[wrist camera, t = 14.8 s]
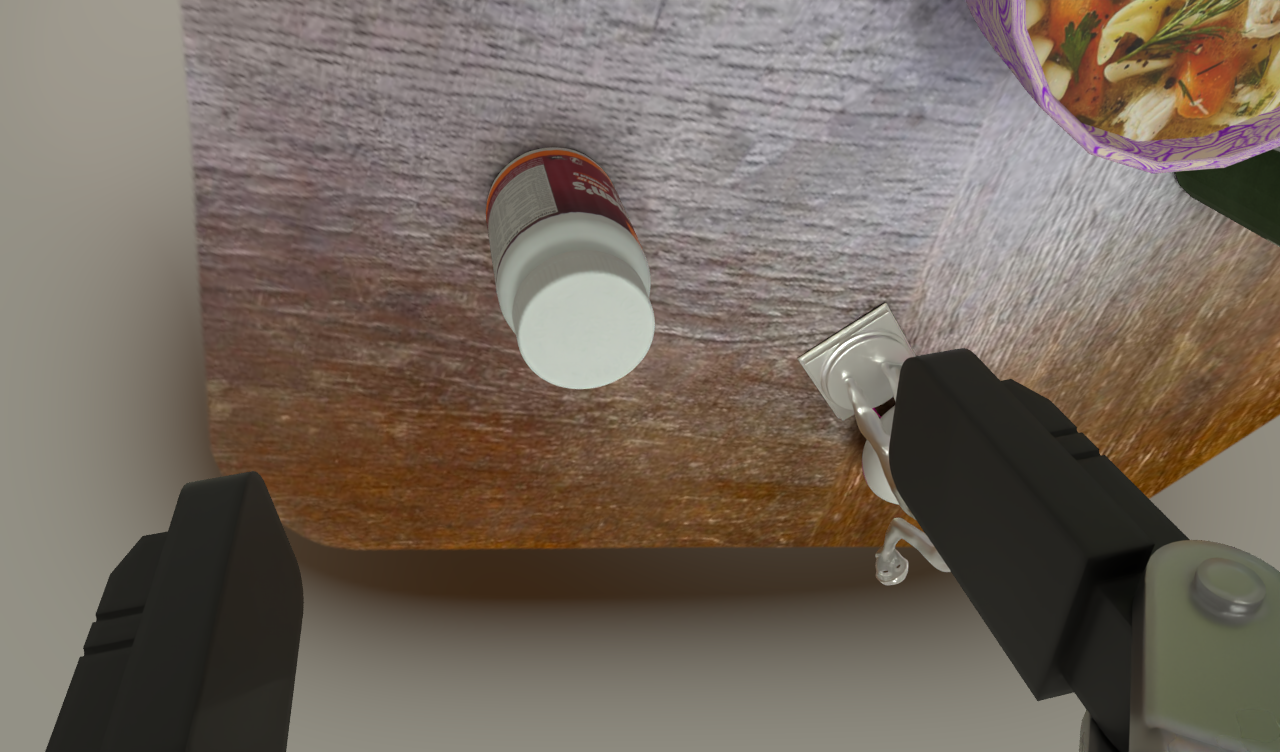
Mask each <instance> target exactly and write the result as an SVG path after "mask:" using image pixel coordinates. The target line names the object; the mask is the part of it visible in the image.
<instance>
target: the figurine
mask: <svg viewBox="0 0 1280 752" xmlns="http://www.w3.org/2000/svg"><path fill="white" fill-rule="evenodd" d="M910 357H915V354H914V352H913V350H912V348H911V346H910V345H909V343H908V341H907V339H906V337H905V336H904V334H903V332H902V330H901V328H900V327H899V325H898V323H897V321H896V319H895V318H894V316H893V314H892V312H891V310H890V309H889V307H888V305H887V303H884V304H882V305H881V306H879V307H878V308H876V309H874V310H873V311H871V312H870V313H868V314H867V315H865V316H863V317H862V318H860V319H859V320H857V321H855V322H854V323H852V324H851V325H849V326H848V327H846V328H844V329H843V330H841V331H840V332H838V333H837V334H835V335H833V336H832V337H830V338H829V339H827V340H826V341H824V342H822V343H821V344H819V345H818V346H816V347H814V348H813V349H811V350H810V351H808V352H807V353H805V354H803V355H802V356H800V357H799V358H798V360H799V362H800V363H801V365H802V366H803V368H804V369H805V371H806V372H807V374H808V375H809V377H810V378H811V379H812V381H813V382H814V384H815V385H816V387H817V388H818V390H819V391H820V393H821V394H822V396H823V397H824V399H825V400H826V402H827V403H828V404H829V406H830V407H831V409H832V410H833V412H834V413H835V415H836V416H837V418H838V419H840V418H841V419H842V420H843V421H844V420H846V419H847V418H849V417H851V416H852V415H854V414H855V418H856V422H857V425H858V428H859V430H860V432H861V433H862V434H863V436H864V437H865V438H866V439H867V440H868V441H869V442H870V444H871V445H872V447H873V449H874V450H875V452H876V453H877V456H878V458H879V461H880V464H881V466H882V469H883V472H884V475H885V477H886V479H887V482H888V484H889V486H890V488H891V491H892V493H893V494H894V496H895V497H896V499H897V501H898V503H899V505H900V506H901V508H902V509H903V510H904V511H905V512H906V513H907V514H908V515H909V516H911V517H912V518H914V519H915V517H914V516H913V514H912V513H911V511H910V510H909V508H908V507H907V505H906V504H905V502H904V501H903V499H902V498H901V496H900V494H899V493H898V491H897V488H896V486H895V484H894V481H893V478H892V474H891V470H890V464H889V443H890V436H889V435H888V434H887V433H886V432H885V430H884V428H883V425H882V423H881V421H880V419H879V417H878V415H877V413H876V412H875V411H874V410H873V409H872V408H875V407H877V406H879V405H882V404H883V403H885V402H887V401H888V400H890V399H891V398H892V397H894V399H895V402H896V396H897V389H898V382H899V375H900V370H901V367H902V365H903V363H904V361H905V360H906V359H908V358H910ZM915 520H916V519H915ZM901 538H902V539H904V540H905V541H907V542H908V543H910V544H911V545H912V546H914V547H915V548H916V549H918V550H919V551H920V553H922V555H923V556H924V557H925V558H926V559H927V560H928V561H929V562H930V563H931V564H932V565H933V566H934V567H936V568H937V569H939V570H941V571H943V572H950V569H949V568H948V566H947V565H946V563H945V562H944V560H943V559H942V557H941V556H940V554H939V553H938V551H937V550H936V548H935V547H934V545H933V544H932V542H931V541H930V539H929V538H928V536H927V535H926V534H925V533H924V532H922V531H921V530H919V529H918V528H916V527H914V526H913V525H911V524H909V523H908V522H906V521H905V520H904V519H902V518H894V519H893V520H892V521H891V523H890V525H889V527H888V529H887V532H886V535H885V542H884V545H883V546H882V547H881V548H880V549H879V550H878V551H877V552H876V557H877V559H876V570H877V571H876V577H877V579H878V580H879V581H880V582H881V583H883V584H885V585H894V584H898V583H900V582H902V581H903V580H904V579H905V577H906V575H907V572H908V561H907V559H905V558H904V557H902V556H901V554H900V553H899V552H898V551H897V550H896V549H895V545H896V544H897V542H898V541H899V540H900V539H901ZM899 564H900V567H899V568H896V566H898V565H899ZM886 570H888V572H887V573H883V572H882V571H886Z"/></svg>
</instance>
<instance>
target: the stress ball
mask: <svg viewBox="0 0 1280 752" xmlns="http://www.w3.org/2000/svg"><path fill="white" fill-rule="evenodd" d="M872 409H873V410H874V411H875V412H876V413H877V411H876V409H875V408H872ZM894 409H895V406H893V407H892V408H891V409H889V410H888V411H887V412H886V413H885V414H884V415H883V416H882V417H881V416H880V415H879V414H878V413H877V415H878V416H879V417H880V421H881V423H882V425H883V428H884V430H885V432H886V433H887V434H888V435H889V436H890V437H891V430H892V423H893V416H894ZM862 469H863V474H864V477H865V480H866V482H867V484H868V485H869V487H870V488H871V490H872V491H873V492H874V493H875V494H876V495H877V496H879V497H880V498H882V499H884V500H886V501H888V502H891V503H894V504H899V503H898V501H897V499H896V497H895V496H894V494H893V493H892V491H891V488H890V486H889V484H888V482H887V479H886V477H885V475H884V472H883V469H882V466H881V464H880V461H879V458H878V456H877V453H876V452H875V450H874V449H873V447H872V445H871V444H870V442H869V441H868V440H866V443H865V446H864V450H863V455H862Z"/></svg>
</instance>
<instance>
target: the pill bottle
mask: <svg viewBox="0 0 1280 752" xmlns="http://www.w3.org/2000/svg"><path fill="white" fill-rule="evenodd" d="M486 220H487V228H488V236H489V243H490V250H491V256H492V263H493V269H494V276H495V283H496V292H497V295H498V300H499V304H500V308H501V311H502V313H503V316H504V318H505V320H506V321H507V323H508V325H509V326H510V327H511V329H512V330H513V331H514V332H515V334H516V336H517V341H518V346H519V349H520V352H521V355H522V357H523V358H524V360H525V362H526V363H527V365H528V366H529V367H530V368H531V370H532V371H533V372H535V373H536V374H537V375H538V376H539V377H541V378H542V379H544V380H546V381H547V382H549V383H551V384H554V385H557V386H560V387H564V388H571V389H589V388H596V387H600V386H604V385H607V384H610V383H612V382H614V381H616V380H618V379H620V378H622V377H623V376H625V375H626V374H628V373H629V372H631V371H632V370H633V369H634V368H635V367H636V366H637V365H638V364H639V363H640V362H641V360H642V359H643V358H644V357H645V355H646V353H647V352H648V350H649V348H650V345H651V343H652V340H653V336H654V330H655V318H654V312H653V308H652V305H651V303H650V300H649V295H650V285H651V278H650V270H649V266H648V262H647V259H646V257H645V254H644V252H643V249H642V247H641V245H640V242H639V240H638V238H637V235H636V233H635V231H634V229H633V227H632V224H631V222H630V220H629V218H628V216H627V213H626V211H625V209H624V207H623V205H622V203H621V200H620V198H619V196H618V194H617V192H616V190H615V188H614V186H613V184H612V182H611V180H610V178H609V177H608V175H607V174H606V173H605V171H604V170H603V169H602V168H601V167H600V166H599V165H598V164H597V163H596V162H595V161H593V160H592V159H590V158H589V157H588V156H586V155H584V154H582V153H579V152H577V151H574V150H571V149H566V148H557V147H550V148H542V149H537V150H533V151H530V152H527V153H525V154H523V155H521V156H519V157H517V158H516V159H515V160H513V161H512V162H510V163H509V164H508V165H507V166H506V167H505V168H504V169H503V170H502V171H501V172H500V173H499V175H498V176H497V177H496V179H495V180H494V182H493V184H492V187H491V189H490V191H489V195H488V199H487V205H486Z"/></svg>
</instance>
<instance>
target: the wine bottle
mask: <svg viewBox="0 0 1280 752" xmlns="http://www.w3.org/2000/svg"><path fill="white" fill-rule="evenodd" d="M1176 176H1177V179H1178V182H1179V184H1180V186H1181V187H1182V188H1183V189H1184V190H1185V191H1186V192H1187V193H1188V194H1189V195H1190V196H1191V197H1193V198H1194V199H1196V200H1198V201H1200V202H1201V203H1203V204H1205V205H1207V206H1209V207H1210V208H1212V209H1214V210H1216V211H1217V212H1219V213H1221V214H1223V215H1224V216H1226V217H1228V218H1230V219H1231V220H1233V221H1235V222H1237V223H1238V224H1240V225H1242V226H1244V227H1245V228H1247V229H1249V230H1251V231H1252V232H1254V233H1256V234H1258V235H1259V236H1261V237H1263V238H1265V239H1266V240H1268V241H1270V242H1272V243H1274V244H1275V245H1277V246H1279V247H1280V147H1277V148H1274V149H1272V150H1269V151H1267V152H1264V153H1261V154H1259V155H1256V156H1254V157H1251V158H1248V159H1246V160H1243V161H1241V162H1238V163H1235V164H1233V165H1230V166H1227V167H1225V168H1214V169H1202V170H1190V171H1178V172H1176Z"/></svg>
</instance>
